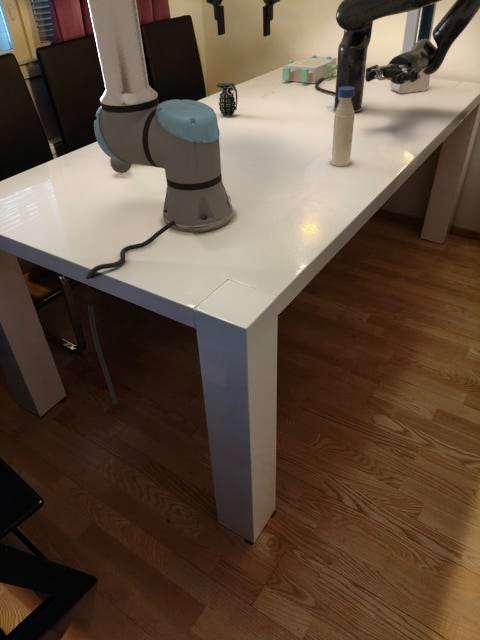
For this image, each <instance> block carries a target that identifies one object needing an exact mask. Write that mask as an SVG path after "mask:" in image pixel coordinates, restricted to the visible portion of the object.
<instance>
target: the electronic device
mask: <svg viewBox="0 0 480 640" xmlns="http://www.w3.org/2000/svg"><path fill="white" fill-rule="evenodd" d="M437 4H438V2H437V3H434V4H431V5H428V6H426V7H423V8H420V9H416V10H412V11H409V12H406V19H405V26H404V34H403V40H402V41H403V42H402V48H401V51H400V53H399V54H398V55H400V54H403V53H405V52H408V51H411V49H412V47H413V46H414V45H415V44H416V43H417V42H418V41H419V40H421V39H428V40H429V41H430V42H431V40H432V39H431V38H432V35H433V34H432V33H433V29H434V21H435V15H436V10H437ZM430 80H431V75H426V74H424V73H423V72H422V73H421V74H420V78H419V79H417V80H416V81H414V82H410V80H409V81H407V82H405V83H403V84H395V83H393V82H392V81H391V80H389V81H390V88H391V90H392V91H394V92H395V93H396V92H397V93H399V94H409V93H416V92H425V91H427V90H428V88H430Z"/></svg>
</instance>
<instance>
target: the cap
mask: <svg viewBox="0 0 480 640" xmlns="http://www.w3.org/2000/svg"><path fill="white" fill-rule="evenodd" d="M354 92H355V88H354V87H350V86H344V87H339V88H338V97H341V98H351V97H354Z"/></svg>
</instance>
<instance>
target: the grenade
mask: <svg viewBox="0 0 480 640" xmlns="http://www.w3.org/2000/svg"><path fill="white" fill-rule="evenodd" d="M215 87H217V88H219V89H221V93H219V97H218V101H219V102H218V106H219V108H218V109H219V112H220V114H221V115H222V116H224V117H231V116H233V115H234V113H235V112H236V111H237V108H238V89H237V87H236V85H235V84H234V83H233V82H218V83H217V84H216V86H215ZM232 91H233V92H232ZM234 94H235V96H234Z"/></svg>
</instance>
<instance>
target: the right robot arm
mask: <svg viewBox="0 0 480 640" xmlns="http://www.w3.org/2000/svg"><path fill="white" fill-rule="evenodd" d="M442 1H443V0H342V1H341V2H340V3H339V5H338V6H337V9H336V12H335V21H336V23H337V25H338V26H339V28H341V29H342V30H343V36H342V38H341V41H340V42H339V44H338V47H337V48H338V49H337V60H336V65H337V70H336V77H335V90H334V91H333V90H328V89H324V88H322V87H320V86H319V84H320V83H321V82H322V81H323V80H325V79H324V77H323V78H321V79H320V80H319V81H318V82H317V83H315V86H314V87H315V88H316V90H319V91H321V92H323V93H326V94H331V95H334V107H333V111H334V112H335V111H336V108H337V107H338V104H339V101H340V97H338V88H339V87H344V86H350V87H354V88H355V92H354V97H351V101H352V104H353V108H354V109H353V110H354V114H356V113H360V112H361V111H363V100H364V99H363V98H364V90H365V89H364V88H365V82H366V83H367V82H368V83H369V82H372V81H373V80H378V81H387V80H388V81H392V82H393V83H395V84H403V83H405V82H407V81H409V80H410V82H414V81H416V80H417V79H419V78H420V74H421V73H422V72H423V73H424V74H426V75H430V76H431V75H433V74H435V73H436V72H437V71H438V70H439V69H440V68H441V66H442V65H443V62H444V60H445V58H446V56H447V54H448V52H449V50H450V48H451V47H452V45H453V44H454V42H455V41H456V40H457V39H458V38H459V36H460V35H461V34H462V33H463V32H464V30H465V29H466V28H467V27H468V26H469V24H470V23H471V22H472V20H473V19H474V18H475V16H476V15H477V13H479V11H480V0H456V1H455V2H454V3H453V4H452V5H451V7H450V8H449V9H448V10H447V12H446V13H445V14H444V15H443V16H442V18H441V19H440V21H439V22H438V23H437V24H436V26H435V27H433V29H432V34H431V35H432V38H433V41H434V42H435V44H436V46H435V45H434V44H433V43H432V41H431V40H430V41H429V40H428V39H421V40H419V41H418V42H417V41H416V44H415V45H414V46H413V47H412V49H411V51H408V52H405V53H403V54H400V53H399V54H400V55H399V54H398V55H396V56H393V58H392V59H391V60H390V61H389V62H388V64H386V65H378V64H374V65H371V66H369V67H367V57H368V49H369V46H370V43H371V39H372V32H373V24H374V21H376V20H379V19H382V18H386V17H390V16H396V15H399V14H404V13H407V12H409V11H412V10H416V9H420V8H421V9H422V8H423V7H426V6H428V5H431V4H434V3H437V4H438V3H439V2H442Z"/></svg>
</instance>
